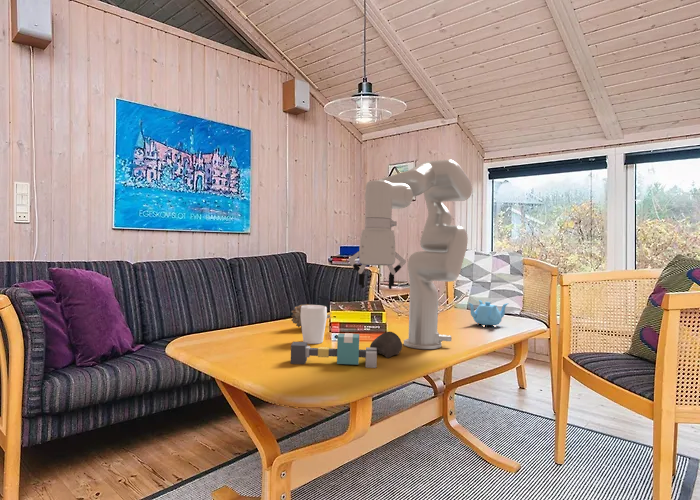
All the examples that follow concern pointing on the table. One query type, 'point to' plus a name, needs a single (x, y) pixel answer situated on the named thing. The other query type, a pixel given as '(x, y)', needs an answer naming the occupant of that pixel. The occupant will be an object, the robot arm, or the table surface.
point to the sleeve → (348, 348)
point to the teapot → (487, 313)
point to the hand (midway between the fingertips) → (376, 287)
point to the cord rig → (327, 353)
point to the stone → (387, 344)
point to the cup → (313, 323)
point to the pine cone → (297, 313)
